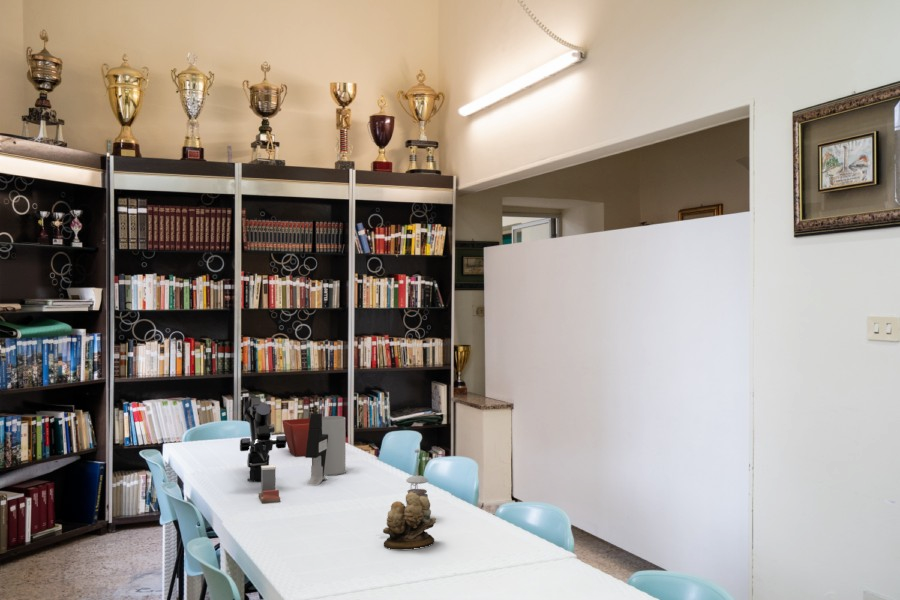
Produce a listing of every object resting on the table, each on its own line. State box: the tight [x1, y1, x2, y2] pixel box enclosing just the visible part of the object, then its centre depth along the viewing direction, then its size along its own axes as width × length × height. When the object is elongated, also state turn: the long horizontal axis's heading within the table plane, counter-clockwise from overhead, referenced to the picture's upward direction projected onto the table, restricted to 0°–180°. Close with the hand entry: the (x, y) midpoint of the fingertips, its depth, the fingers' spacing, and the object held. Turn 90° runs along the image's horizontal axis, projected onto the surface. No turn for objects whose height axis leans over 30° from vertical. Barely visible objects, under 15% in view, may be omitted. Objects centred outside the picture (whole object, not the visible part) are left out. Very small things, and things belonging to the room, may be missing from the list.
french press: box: [405, 448, 429, 506], centre depth 292 cm, size 10×12×25 cm
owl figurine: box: [382, 492, 437, 550], centre depth 260 cm, size 18×12×17 cm, turn 116°
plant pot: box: [281, 417, 310, 457], centre depth 411 cm, size 19×19×17 cm
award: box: [304, 412, 328, 486], centre depth 347 cm, size 15×5×30 cm, turn 168°
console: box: [258, 489, 281, 504], centre depth 317 cm, size 11×7×4 cm, turn 21°
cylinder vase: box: [322, 415, 346, 476], centre depth 366 cm, size 12×12×25 cm
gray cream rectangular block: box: [260, 464, 277, 495], centre depth 320 cm, size 4×5×11 cm
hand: (265, 460), depth 328 cm, fingers closed
